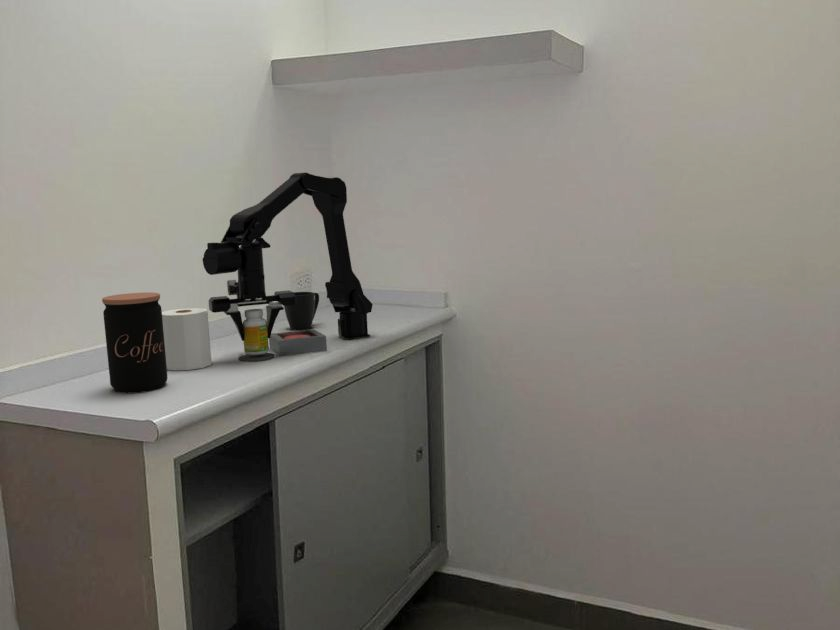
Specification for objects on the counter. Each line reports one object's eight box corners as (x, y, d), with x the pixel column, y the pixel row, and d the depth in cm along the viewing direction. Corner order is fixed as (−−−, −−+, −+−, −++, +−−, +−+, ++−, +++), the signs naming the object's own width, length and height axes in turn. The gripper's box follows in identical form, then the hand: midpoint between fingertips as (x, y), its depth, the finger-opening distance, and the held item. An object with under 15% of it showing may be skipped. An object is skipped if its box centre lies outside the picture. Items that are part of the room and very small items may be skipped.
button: (307, 344, 199) (306, 333, 199) (313, 348, 193) (312, 337, 193) (282, 346, 197) (281, 336, 196) (288, 351, 191) (287, 340, 191)
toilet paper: (176, 361, 188) (172, 307, 186) (219, 360, 186) (215, 307, 184) (155, 371, 178) (149, 315, 176) (200, 370, 176) (195, 314, 174)
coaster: (270, 352, 192) (270, 351, 192) (278, 359, 185) (278, 357, 185) (235, 356, 189) (235, 355, 189) (242, 363, 182) (241, 361, 182)
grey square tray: (314, 343, 202) (313, 329, 202) (326, 350, 192) (326, 335, 192) (269, 348, 198) (268, 333, 198) (279, 356, 188) (278, 340, 188)
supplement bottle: (263, 355, 184) (260, 311, 182) (240, 355, 185) (237, 312, 184) (272, 350, 189) (269, 308, 188) (250, 350, 190) (247, 308, 189)
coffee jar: (112, 396, 156) (103, 301, 153) (109, 385, 166) (100, 295, 163) (171, 389, 160) (163, 296, 158) (164, 378, 170) (157, 291, 167)
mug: (331, 324, 229) (329, 290, 228) (302, 332, 219) (299, 296, 218) (308, 323, 234) (306, 289, 232) (279, 330, 224) (276, 295, 223)
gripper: (284, 264, 195) (288, 329, 197) (202, 270, 188) (208, 338, 191) (295, 267, 185) (300, 337, 187) (209, 274, 178) (215, 346, 180)
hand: (255, 339), depth 187 cm, fingers closed on supplement bottle, 5 cm apart
